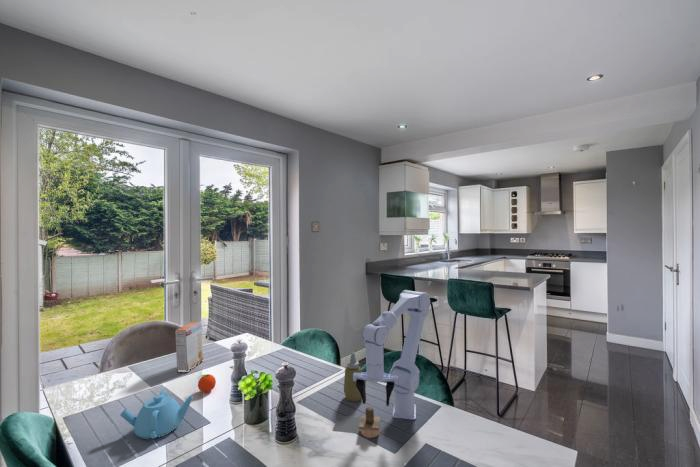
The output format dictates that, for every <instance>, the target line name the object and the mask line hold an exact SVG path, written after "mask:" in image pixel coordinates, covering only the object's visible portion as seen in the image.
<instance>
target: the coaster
mask: <svg viewBox="0 0 700 467" xmlns="http://www.w3.org/2000/svg"><path fill="white" fill-rule="evenodd" d="M360 420H361V416H360V417H358V416H347V415H338V416H337V419H336V421H335V423H334V426H333V428H332V430H331V431H332V432H341V433H350V434H360V432H361V431H360V429H359V424H360Z"/></svg>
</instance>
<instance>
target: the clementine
mask: <svg viewBox="0 0 700 467" xmlns="http://www.w3.org/2000/svg"><path fill="white" fill-rule="evenodd" d="M199 378H200V379H199ZM197 380H198V382H197V388H198V389H199V391H200V392H202V393H209V392H211V391H212V390H214V388H215V387H216V385H217V384H216V382H217V381H216V377H215V376H214V375H212V374H202V375H201V376H200V377H198V378H197Z"/></svg>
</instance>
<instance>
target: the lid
mask: <svg viewBox="0 0 700 467" xmlns="http://www.w3.org/2000/svg"><path fill="white" fill-rule="evenodd" d="M374 409H375V408H373V407H371V406H369V407H366V408H365V415H361V416H360V417H361V420H360V424H359V429H363V430H376V431H379V427H380V426H381V425H380V424H381V416H377V415H374V411H375V410H374ZM379 432H380V431H379Z"/></svg>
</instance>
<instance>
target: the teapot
mask: <svg viewBox="0 0 700 467" xmlns="http://www.w3.org/2000/svg"><path fill="white" fill-rule="evenodd" d="M193 397H194V396H193V395H192V396H187V398H186V400H184V402H183V404H182V405H180V404H179V402H177V400H176V399H175V398H174V397H173V396H171V395H167V391H166V390H161V391H160V393H159V394H157V395H155V396H153V397H152V398H150V399H148V400H146V402H145V403H144V404H142V407H141V408H140V410H139V412H138V414H136V415H137V416H136V415H134V414H133V413H132V412H131V411H130V410H129V409H127V408H124V410H123V411H122V412H121V413H120V414H119V416H120V417H121V418H123V419H124V420H125V421H126V422H127V423H128V424H130V425H131V426H132V427H133V432H134V434H135V435H136V436H137V437H139V438H141V437H142V438H141V439H143V438H152V439H151V440H154V438H155V439H157V438H156V437H159V436H162V435H165V434H167V433H169V434H171V433H172V432H173V430H174V429H175V428H176V429H177V428H178V427H179V425H180V424H181V422H182V421H183V419H184V418H185V416H186V413H187V412H188V409H189V407H190V405H191V403H192V400H193ZM176 429H175V430H176ZM175 430H174V431H175ZM171 431H172V432H171ZM170 432H171V433H170ZM167 435H168V434H167ZM165 436H166V435H165ZM162 437H163V436H162ZM159 438H160V437H159Z"/></svg>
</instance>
